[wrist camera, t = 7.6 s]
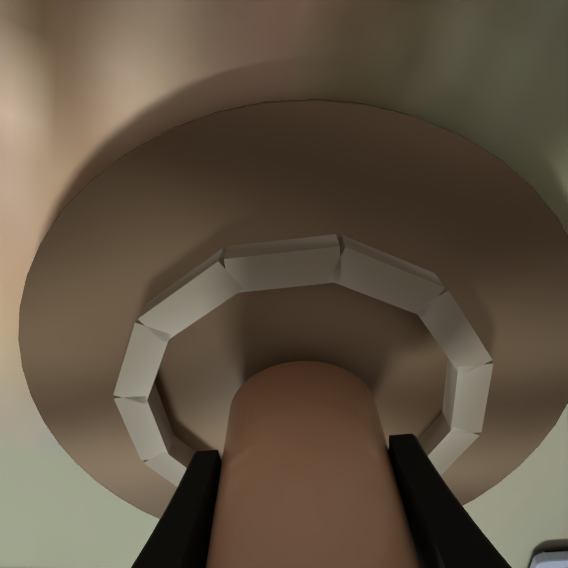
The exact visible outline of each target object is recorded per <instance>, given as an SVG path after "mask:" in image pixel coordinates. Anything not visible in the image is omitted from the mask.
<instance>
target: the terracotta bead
mask: <svg viewBox="0 0 568 568" xmlns="http://www.w3.org/2000/svg"><path fill="white" fill-rule="evenodd" d="M206 568H421V566H420V563H419V559H418V555H417V552H416V548H415V544H414V541H413V537H412V533H411V530H410V526H409V522H408V519H407V515H406V511H405V508H404V504H403V500H402V497H401V493H400V489H399V486H398V482H397V479H396V475H395V471H394V468H393V464H392V460H391V456H390V453H389V449H388V445H387V442H386V438H385V434H384V431H383V427H382V423H381V420H380V416H379V412H378V409H377V405H376V402H375V398H374V396H373V394H372V392H371V391H370V389H369V388H368V386H367V385H366V384H365V383H364V382H363V381H362V380H361V379H360V378H358V377H357V376H356V375H354V374H353V373H351V372H349V371H347V370H345V369H343V368H340V367H338V366H335V365H331V364H328V363H323V362H316V361H294V362H287V363H282V364H279V365H275V366H272V367H269V368H267V369H264V370H262V371H260V372H259V373H257V374H255V375H254V376H252V377H251V378H249V379H248V380H247V381H246V382H245V383H244V384H243V385H242V386H241V387H240V388H239V389H238V391H237V392H236V394H235V395H234V397H233V400H232V402H231V405H230V410H229V417H228V423H227V430H226V436H225V443H224V450H223V456H222V463H221V469H220V476H219V482H218V489H217V496H216V502H215V509H214V515H213V522H212V528H211V535H210V542H209V548H208V555H207V561H206Z"/></svg>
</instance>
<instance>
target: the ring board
mask: <svg viewBox="0 0 568 568" xmlns="http://www.w3.org/2000/svg"><path fill="white" fill-rule="evenodd" d="M19 346H20V353H21V361H22V368H23V371H24V375H25V378H26V381H27V384H28V387H29V391H30V394H31V396H32V398H33V401H34V403H35V405H36V407H37V409H38V411H39V413H40V415H41V417H42V419H43V421H44V422H45V424H46V425H47V427H48V428H49V430H50V431H51V433H52V434H53V436H54V437H55V439H56V440H57V442H58V443H59V444H60V445H61V446H62V448H63V449H64V450H65V451H66V452H67V453H68V454H69V455H70V457H71V458H72V459H73V460H74V461H75V462H76V463H77V464H78V465H79V466H80V467H81V468H82V469H83V470H84V471H86V472H87V473H88V474H89V475H90V476H91V477H92V478H93V479H94V480H96V481H97V482H98V483H99V484H101V485H102V486H104V487H105V488H106V489H108V490H109V491H111V492H112V493H113V494H115V495H116V496H118V497H119V498H121V499H123V500H124V501H126V502H128V503H129V504H131V505H133V506H135V507H136V508H138V509H140V510H142V511H144V512H146V513H148V514H150V515H152V516H155V517H157V518H159V519H160V518H161V517H162V515H163V513H164V511H165V510H166V508H167V506H168V504H169V502H170V500H171V498H172V497H173V495H174V493H175V491H176V489H177V487H178V485H179V483H180V481H181V479H182V477H183V475H184V473H185V471H186V469H187V467H188V465H189V463H190V461H191V459H192V456H193V454H194V453H195V452H196V451H207V450H218V451H219V454H220V458H221V461H222V456H223V450H224V443H225V436H226V430H227V423H228V417H229V410H230V405H231V402H232V400H233V397H234V395H235V394H236V392H237V391H238V389H239V388H240V387H241V386H242V385H243V384H244V383H245V382H246V381H247V380H248V379H249V378H251V377H252V376H254V375H255V374H257V373H259V372H260V371H262V370H264V369H267V368H269V367H272V366H275V365H279V364H282V363H287V362H294V361H316V362H323V363H328V364H331V365H335V366H338V367H340V368H343V369H345V370H347V371H349V372H351V373H353V374H354V375H356V376H357V377H358V378H360V379H361V380H362V381H363V382H364V383H365V384H366V385H367V386H368V388H369V389H370V391H371V392H372V394H373V396H374V398H375V402H376V405H377V409H378V412H379V416H380V420H381V423H382V427H383V431H384V434H385V438H386V442H387V445H388V449H389V435H400V434H413V435H415V436H416V437H417V439H418V441H419V443H420V444H421V446H422V448H423V449H424V451H425V453H426V454H427V456H428V458H429V459H430V461H431V462H432V464H433V465H434V467H435V468H436V470H437V471H438V473H439V474H440V476H441V477H442V479H443V480H444V482H445V483H446V484H447V486H448V487H449V489H450V490H451V491H452V493H453V494H454V496H455V497H456V498H457V500H458V501H459V502H460V504H461V505H462V506H463V505H465V504H466V503H468V502H470V501H472V500H474V499H475V498H477V497H478V496H480V495H481V494H483V493H484V492H486V491H487V490H489V489H490V488H492V487H493V486H495V485H496V484H498V483H499V482H500V481H501V480H503V479H504V478H505V477H506V476H508V475H509V474H510V473H511V472H512V471H514V470H515V469H516V468H517V467H518V466H520V465H521V464H522V463H523V462H524V460H525V459H526V458H527V457H528V456H529V455H530V454H531V453H532V452H533V451H534V450H535V449H536V448H537V447H538V446H539V445H540V444H541V442H542V441H543V440H544V438H545V437H546V436H547V435H548V433H549V432H550V431H551V429H552V428H553V427H554V425H555V424H556V423H557V421H558V419H559V417H560V416H561V414H562V412H563V410H564V409H565V407H566V405H567V404H568V236H567V234H566V232H565V231H564V229H563V227H562V225H561V223H560V221H559V220H558V218H557V216H556V215H555V214H554V213H553V212H552V210H551V209H550V208H549V207H548V205H547V204H546V203H545V202H544V201H543V199H542V198H541V197H540V196H539V194H538V193H537V192H536V191H535V190H534V188H533V187H532V186H531V185H529V184H528V183H527V182H526V181H525V180H524V179H522V178H521V177H520V176H519V175H518V174H517V173H515V172H514V171H513V170H512V169H511V168H510V167H508V166H507V165H506V164H505V163H504V162H503V161H502V160H500V159H499V158H497V157H495V156H494V155H492V154H490V153H489V152H487V151H485V150H484V149H482V148H480V147H479V146H477V145H475V144H474V143H472V142H470V141H469V140H467V139H465V138H464V137H462V136H460V135H457V134H455V133H453V132H450V131H448V130H445V129H443V128H440V127H438V126H435V125H433V124H431V123H428V122H426V121H423V120H421V119H418V118H416V117H413V116H411V115H408V114H404V113H400V112H396V111H392V110H387V109H383V108H379V107H375V106H371V105H366V104H362V103H351V102H339V101H328V100H316V99H310V100H292V101H275V102H263V103H258V104H253V105H248V106H243V107H239V108H234V109H229V110H224V111H219V112H216V113H213V114H210V115H208V116H205V117H202V118H199V119H196V120H194V121H191V122H188V123H185V124H183V125H180V126H177V127H174V128H172V129H171V130H169V131H167V132H165V133H163V134H161V135H160V136H158V137H156V138H154V139H152V140H150V141H149V142H147V143H145V144H143V145H141V146H139V147H137V148H136V149H134V150H132V151H131V152H129V153H127V154H126V155H124V156H123V157H121V158H120V159H119V160H117V161H116V162H115V163H114V164H112V165H111V166H110V167H108V168H107V169H106V170H104V171H103V172H102V173H101V174H99V175H98V176H97V177H95V178H94V179H93V180H91V181H90V182H89V183H88V184H87V185H86V186H85V187H84V188H83V189H82V190H81V192H80V193H79V194H78V195H77V196H76V197H75V198H74V199H73V200H72V201H71V202H70V203H69V204H68V205H67V206H66V208H65V209H64V210H63V211H62V212H61V213H60V215H59V216H58V218H57V219H56V221H55V222H54V224H53V225H52V227H51V228H50V230H49V232H48V233H47V235H46V236H45V238H44V239H43V241H42V242H41V244H40V246H39V249H38V251H37V253H36V256H35V258H34V260H33V263H32V265H31V267H30V270H29V272H28V274H27V278H26V282H25V286H24V291H23V295H22V300H21V304H20V313H19Z"/></svg>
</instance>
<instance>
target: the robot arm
mask: <svg viewBox="0 0 568 568" xmlns="http://www.w3.org/2000/svg"><path fill="white" fill-rule="evenodd" d="M389 453H390V456H391V460H392V464H393V468H394V471H395V475H396V479H397V482H398V486H399V489H400V493H401V497H402V500H403V504H404V508H405V511H406V515H407V519H408V522H409V526H410V530H411V533H412V537H413V541H414V544H415V548H416V552H417V555H418V559H419V563H420V566H421V568H512V567H511V566H510V565H509V564H508V563H507V562H506V560H505V559H504V558H503V557H502V556H501V555H500V553H499V552H498V551H497V550H496V548H495V547H494V546H493V545H492V544H491V542H490V541H489V540H488V539H487V537H486V536H485V535H484V534H483V533H482V531H481V530H480V529H479V527H478V526H477V525H476V524H475V522H474V521H473V520H472V518H471V517H470V516H469V514H468V513H467V512H466V510H465V509H464V508H463V506H462V505H461V504H460V502H459V501H458V500H457V498H456V497H455V496H454V494H453V493H452V491H451V490H450V489H449V487H448V486H447V484H446V483H445V482H444V480H443V479H442V477H441V476H440V474H439V473H438V471H437V470H436V468H435V467H434V465H433V464H432V462H431V461H430V459H429V458H428V456H427V454H426V453H425V451H424V449H423V448H422V446H421V444H420V443H419V441H418V439H417V437H416V436H415V435H413V434H400V435H389ZM221 463H222V461H221V458H220V454H219V451H218V450H207V451H196V452H195V453H194V454H193V456H192V459H191V461H190V463H189V465H188V467H187V469H186V471H185V473H184V475H183V477H182V479H181V481H180V483H179V485H178V487H177V489H176V491H175V493H174V495H173V497H172V498H171V500H170V502H169V504H168V506H167V508H166V510H165V511H164V513H163V515H162V517H161V518H160V520H159V522H158V524H157V526H156V527H155V529H154V531H153V533H152V534H151V536H150V538H149V540H148V541H147V543H146V544H145V546H144V548H143V549H142V551H141V553H140V554H139V556H138V557H137V559H136V561H135V562H134V564H133V565H132V567H131V568H206V561H207V555H208V548H209V542H210V535H211V528H212V522H213V515H214V509H215V502H216V496H217V489H218V482H219V476H220V469H221ZM530 568H568V551H561V552H546V553H540V554H537V555H536V556H534V558H533V560H532V563H531V566H530Z"/></svg>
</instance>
